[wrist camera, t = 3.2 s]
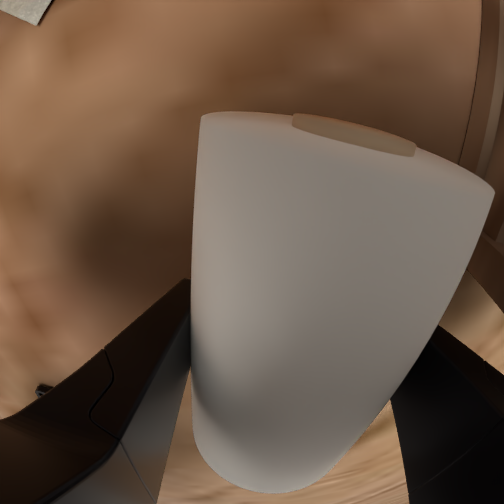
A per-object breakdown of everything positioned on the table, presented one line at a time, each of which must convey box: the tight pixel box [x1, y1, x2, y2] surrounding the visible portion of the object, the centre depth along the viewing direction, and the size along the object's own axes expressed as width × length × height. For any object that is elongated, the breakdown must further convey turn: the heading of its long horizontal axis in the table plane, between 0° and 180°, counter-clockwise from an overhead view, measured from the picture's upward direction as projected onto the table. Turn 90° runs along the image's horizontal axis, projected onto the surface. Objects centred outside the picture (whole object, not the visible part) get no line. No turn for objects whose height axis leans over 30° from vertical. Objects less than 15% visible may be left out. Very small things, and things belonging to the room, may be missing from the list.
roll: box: [190, 111, 495, 494], centre depth 7 cm, size 9×5×5 cm, turn 173°
